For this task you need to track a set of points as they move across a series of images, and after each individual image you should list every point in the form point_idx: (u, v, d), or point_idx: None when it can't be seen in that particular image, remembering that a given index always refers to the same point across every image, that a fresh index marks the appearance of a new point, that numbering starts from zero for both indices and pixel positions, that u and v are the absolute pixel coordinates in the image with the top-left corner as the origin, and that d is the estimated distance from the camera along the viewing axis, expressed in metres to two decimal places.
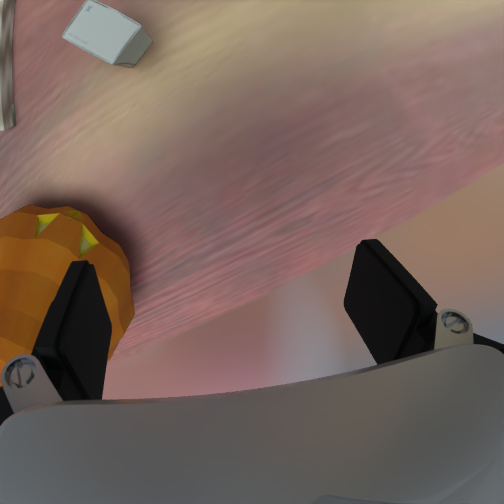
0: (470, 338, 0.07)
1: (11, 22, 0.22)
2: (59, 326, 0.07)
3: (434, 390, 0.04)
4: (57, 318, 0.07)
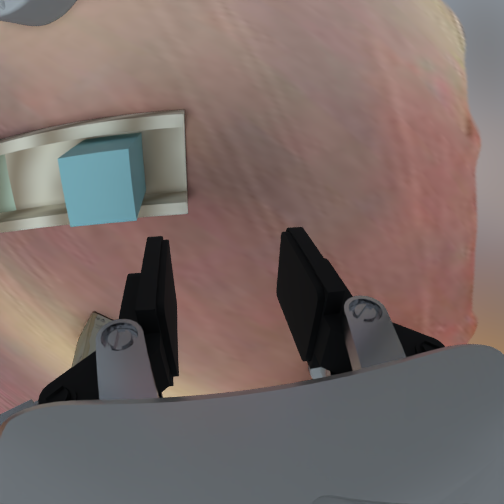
0: (388, 322, 0.08)
1: None
2: (156, 291, 0.08)
3: (434, 390, 0.04)
4: (151, 284, 0.08)
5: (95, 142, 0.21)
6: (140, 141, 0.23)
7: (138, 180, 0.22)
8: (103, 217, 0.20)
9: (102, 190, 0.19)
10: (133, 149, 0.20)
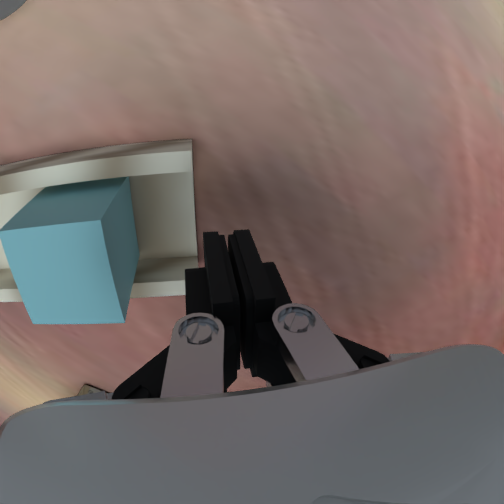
0: (324, 327, 0.07)
1: None
2: (228, 284, 0.08)
3: (434, 390, 0.04)
4: (221, 278, 0.09)
5: (60, 194, 0.14)
6: (127, 189, 0.16)
7: (125, 254, 0.15)
8: (76, 316, 0.13)
9: (68, 280, 0.12)
10: (112, 212, 0.13)
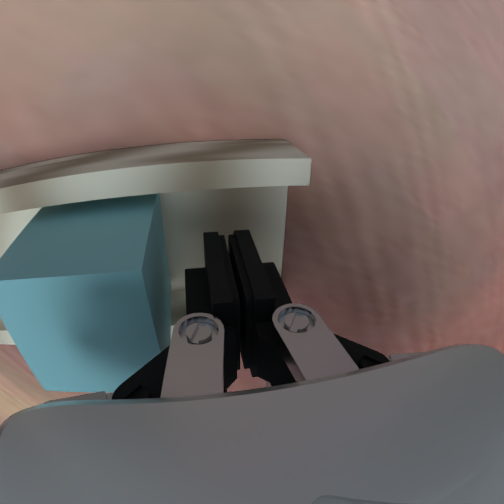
0: (324, 327, 0.07)
1: None
2: (229, 284, 0.08)
3: (434, 390, 0.04)
4: (221, 278, 0.09)
5: (67, 216, 0.10)
6: (158, 207, 0.12)
7: (163, 297, 0.11)
8: (103, 384, 0.09)
9: (92, 346, 0.08)
10: (150, 248, 0.09)
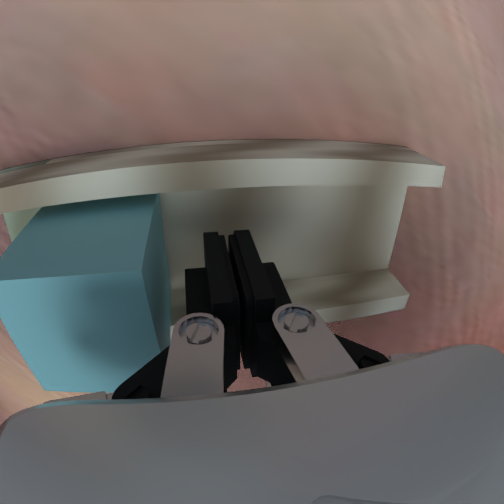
0: (324, 327, 0.07)
1: None
2: (229, 284, 0.08)
3: (434, 390, 0.04)
4: (221, 278, 0.09)
5: (66, 216, 0.10)
6: (158, 206, 0.12)
7: (162, 297, 0.11)
8: (103, 385, 0.09)
9: (91, 346, 0.08)
10: (150, 249, 0.09)
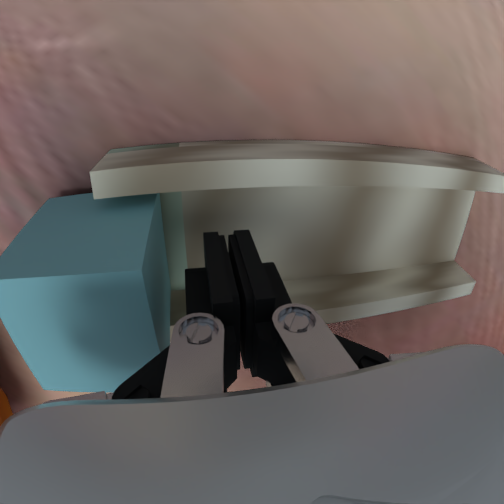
0: (324, 327, 0.07)
1: None
2: (229, 284, 0.08)
3: (434, 390, 0.04)
4: (221, 278, 0.09)
5: (67, 215, 0.10)
6: (158, 206, 0.12)
7: (162, 297, 0.11)
8: (103, 384, 0.09)
9: (91, 346, 0.08)
10: (150, 248, 0.09)
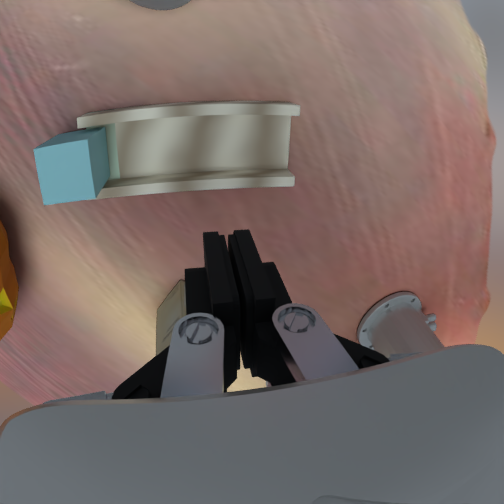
0: (324, 327, 0.07)
1: None
2: (229, 284, 0.08)
3: (434, 390, 0.04)
4: (221, 278, 0.09)
5: (66, 135, 0.24)
6: (103, 134, 0.26)
7: (99, 166, 0.25)
8: (69, 196, 0.23)
9: (68, 173, 0.22)
10: (94, 140, 0.23)
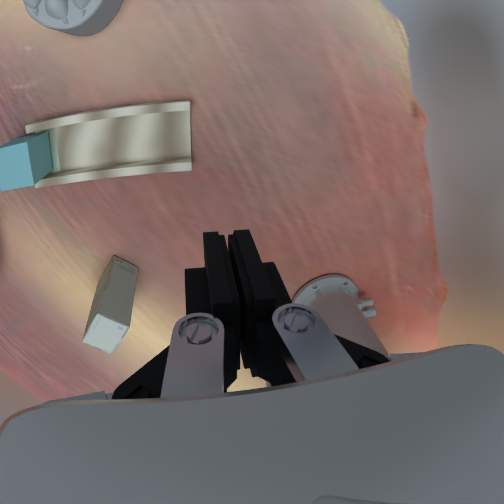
0: (324, 327, 0.07)
1: None
2: (228, 284, 0.08)
3: (434, 390, 0.04)
4: (221, 278, 0.09)
5: (18, 139, 0.28)
6: (46, 136, 0.31)
7: (40, 161, 0.30)
8: (17, 184, 0.28)
9: (15, 167, 0.27)
10: (34, 142, 0.28)
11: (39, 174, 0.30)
